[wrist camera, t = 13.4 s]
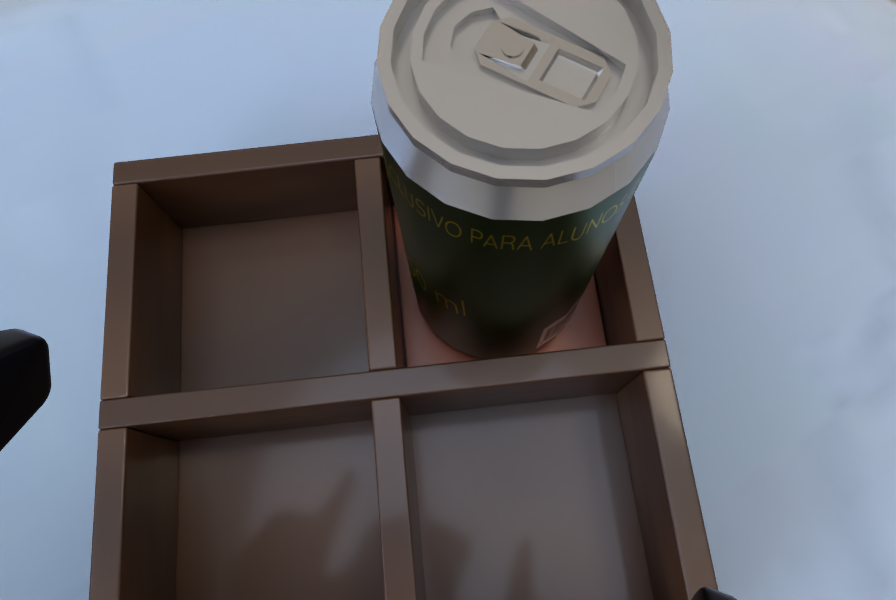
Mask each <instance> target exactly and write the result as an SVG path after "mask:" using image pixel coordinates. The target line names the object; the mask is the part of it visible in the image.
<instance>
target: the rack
mask: <svg viewBox="0 0 896 600" xmlns="http://www.w3.org/2000/svg"><path fill="white" fill-rule="evenodd" d="M113 185H114V186H113V187H112V204H111V221H110V239H109V257H108V274H107V292H106V310H105V327H104V345H103V363H102V380H101V400H102V401H100V411H99V429H100V431H99V433H98V450H97V468H96V486H95V503H94V521H93V539H92V556H91V574H90V592H89V600H691V599H692V598H693V596H694V595H695V593H696V592H697V591H698V590H699V589H700V588H702V587H708V588H711V589H714V590H716V591H718V587H717V582H716V578H715V573H714V568H713V563H712V559H711V554H710V549H709V545H708V540H707V535H706V531H705V526H704V521H703V516H702V512H701V507H700V502H699V498H698V493H697V488H696V484H695V479H694V474H693V470H692V465H691V460H690V455H689V451H688V446H687V441H686V437H685V432H684V427H683V423H682V418H681V413H680V408H679V404H678V399H677V394H676V390H675V385H674V380H673V376H672V371H671V369H670V368H669V367H670V361H669V356H668V351H667V346H666V342H665V340H663V339H664V332H663V328H662V323H661V318H660V314H659V309H658V304H657V300H656V295H655V290H654V285H653V281H652V276H651V271H650V267H649V262H648V257H647V253H646V248H645V243H644V239H643V234H642V229H641V224H640V220H639V215H638V210H637V206H636V201H635V196H634V195H633V197H632V199H631V201H630V203H629V205H628V207H627V209H626V211H625V213H624V215H623V217H622V218H621V220H620V222H619V224H618V226H617V228H616V230H615V232H614V234H613V236H612V238H611V240H610V242H609V244H608V246H607V248H606V250H605V252H604V254H603V256H602V258H601V260H600V262H599V264H598V266H597V268H596V270H595V271H594V273H593V275H592V277H591V279H590V281H589V283H588V285H587V287H586V289H585V291H584V293H583V295H582V297H581V299H580V301H579V303H578V305H577V307H576V309H575V311H574V313H573V315H572V317H571V318H570V320H569V321H568V322H567V323H566V325H565V326H564V327H563V329H562V330H561V331H560V333H559V334H558V335H557V336H556V338H554V339H553V340H551V341H550V342H548V343H547V344H545V345H544V346H542V347H541V348H539V349H538V350H536V351H535V352H533V353H529V354H523V355H514V356H505V357H496V358H487V359H482V358H478V357H475V356H473V355H470V354H467V353H464V352H461V351H459V350H456V349H454V348H453V347H452V346H450V345H449V344H448V343H447V342H445V341H444V340H443V339H441V338H440V337H439V336H437V335H436V334H435V333H434V332H433V330H432V329H431V327H430V326H429V324H428V323H427V321H426V320H425V318H424V317H423V315H422V314H421V312H420V309H419V305H418V302H417V298H416V294H415V291H414V287H413V282H412V278H411V274H410V269H409V265H408V261H407V256H406V252H405V248H404V243H403V239H402V235H401V230H400V226H399V222H398V217H397V213H396V209H395V204H394V200H393V196H392V191H391V187H390V183H389V178H388V174H387V170H386V165H385V161H384V156H383V152H382V148H381V143H380V139H379V135H371V136H362V137H352V138H343V139H334V140H324V141H315V142H305V143H296V144H287V145H277V146H268V147H259V148H249V149H240V150H230V151H221V152H212V153H202V154H193V155H184V156H174V157H165V158H155V159H146V160H137V161H127V162H118V163H115V164H114V172H113Z"/></svg>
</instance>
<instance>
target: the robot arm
mask: <svg viewBox="0 0 896 600" xmlns="http://www.w3.org/2000/svg"><path fill="white" fill-rule="evenodd" d="M50 389H51V375H50V361H49V348H48V344H47V343H46V341H45V340H44V339H43V338H42V337H40V336H37V335H34V334H32V333H29V332H26V331H24V330H20V329H8V330H3V331H0V451H1V450H2V449H3V448H4V447H5V445H6V444H7V443H8V442H9V441H10V440H11V439H12V438H13V437H14V436H15V434H16V433H17V432H18V431H19V430H20V429H21V428H22V427H23V426H24V425H25V423H26V422H27V421H28V420H29V419H30V418H31V417H32V416H33V415H34V414H35V413H36V411H37V410H38V409H39V408H40V407H41V406H42V405H43V404H44V402H45V401H46V399H47V397H48V395H49V393H50ZM691 600H737V599H736V598H734V597H732V596H730V595H727V594H724V593H722V592H719V591H716V590H714V589H711V588H708V587H702V588H700V589H699V590H698V591H697V592H696V593H695V595H694V596H693V598H692V599H691Z"/></svg>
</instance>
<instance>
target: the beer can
mask: <svg viewBox="0 0 896 600" xmlns="http://www.w3.org/2000/svg"><path fill="white" fill-rule="evenodd" d="M672 73H673V64H672V49H671V34H670V30H669V28H668V26H667V24H666V22H665V19H664V17H663V15H662V13H661V11H660V9H659V6H658V4H657V2H656V0H393V1H392V3H391V5H390V8H389V10H388V12H387V14H386V16H385V18H384V20H383V22H382V24H381V26H380V34H379V44H378V55H377V59H376V61H375V65H374V76H373V86H372V97H371V104H372V109H373V113H374V117H375V122H376V126H377V130H378V135H379V139H380V143H381V148H382V152H383V156H384V161H385V165H386V170H387V174H388V178H389V183H390V187H391V191H392V196H393V200H394V204H395V209H396V213H397V217H398V222H399V226H400V230H401V235H402V239H403V243H404V248H405V252H406V256H407V261H408V265H409V269H410V274H411V278H412V282H413V287H414V291H415V294H416V298H417V302H418V305H419V309H420V312H421V314H422V315H423V317H424V318H425V320H426V321H427V323H428V324H429V326H430V327H431V329H432V330H433V332H434V333H435V334H436V335H437V336H439V337H440V338H441V339H443V340H444V341H445V342H447V343H448V344H449V345H450V346H452V347H453V348H454V349H456V350H459V351H461V352H464V353H467V354H470V355H473V356H475V357H478V358H482V359H487V358H496V357H505V356H514V355H523V354H529V353H533V352H535V351H536V350H538V349H539V348H541V347H542V346H544V345H545V344H547V343H548V342H550V341H551V340H553V339H554V338H556V336H557V335H558V334H559V333H560V331H561V330H562V329H563V327H564V326H565V325H566V323H567V322H568V321H569V320H570V318H571V317H572V315H573V313H574V311H575V309H576V307H577V305H578V303H579V301H580V299H581V297H582V295H583V293H584V291H585V289H586V287H587V285H588V283H589V281H590V279H591V277H592V275H593V273H594V271H595V270H596V268H597V266H598V264H599V262H600V260H601V258H602V256H603V254H604V252H605V250H606V248H607V246H608V244H609V242H610V240H611V238H612V236H613V234H614V232H615V230H616V228H617V226H618V224H619V222H620V220H621V218H622V217H623V215H624V213H625V211H626V209H627V207H628V205H629V203H630V201H631V199H632V197H633V195H634V193H635V191H636V189H637V187H638V185H639V183H640V181H641V179H642V177H643V175H644V173H645V171H646V169H647V167H648V166H649V164H650V162H651V160H652V158H653V156H654V154H655V152H656V150H657V147H658V144H659V141H660V138H661V135H662V132H663V129H664V125H665V122H666V119H667V116H668V113H669V110H670V107H669V92H668V85H669V82H670V79H671V76H672Z"/></svg>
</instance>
